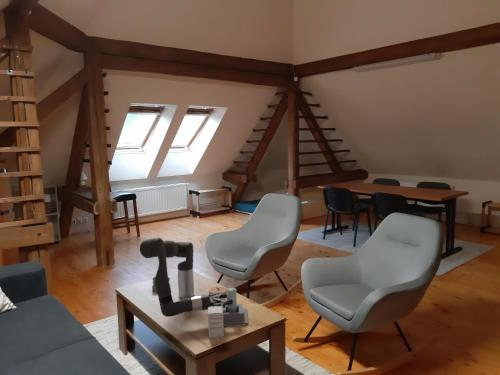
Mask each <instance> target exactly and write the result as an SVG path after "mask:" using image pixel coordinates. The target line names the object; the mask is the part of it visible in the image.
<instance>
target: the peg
mask: <svg viewBox="0 0 500 375" xmlns="http://www.w3.org/2000/svg"><path fill="white" fill-rule="evenodd" d="M237 297H238V296H237V288H236V287H228V288H227V299H226V301H227V300H233V304H231V305H227V312H237V305H238V303H237V302H238V301H237Z"/></svg>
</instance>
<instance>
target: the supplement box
mask: <svg viewBox="0 0 500 375" xmlns="http://www.w3.org/2000/svg"><path fill="white" fill-rule="evenodd" d="M207 322H208V323H207V324H208V325H207V326H208V338H209V339H211V338H224V336H225V335H224V326H223V307H222V306H218V307H214V306H211V307H208V310H207Z"/></svg>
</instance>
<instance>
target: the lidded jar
mask: <svg viewBox="0 0 500 375" xmlns="http://www.w3.org/2000/svg"><path fill="white" fill-rule="evenodd" d="M227 289H228V288H227V287H225V286H213V287H211V288H209V290H208V295H209V294H213V293H219V294H227ZM221 300H223V301H227V298H224V299H222V298H221ZM222 303H223V302H222Z"/></svg>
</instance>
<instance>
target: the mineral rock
mask: <svg viewBox="0 0 500 375" xmlns="http://www.w3.org/2000/svg"><path fill="white" fill-rule="evenodd" d="M155 277H156V276H153V278H152V286H151V287H152V291H154V292H157V291H156V287H155ZM168 279H169V281H170V280H171V279H170V277H169V276H168Z"/></svg>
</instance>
